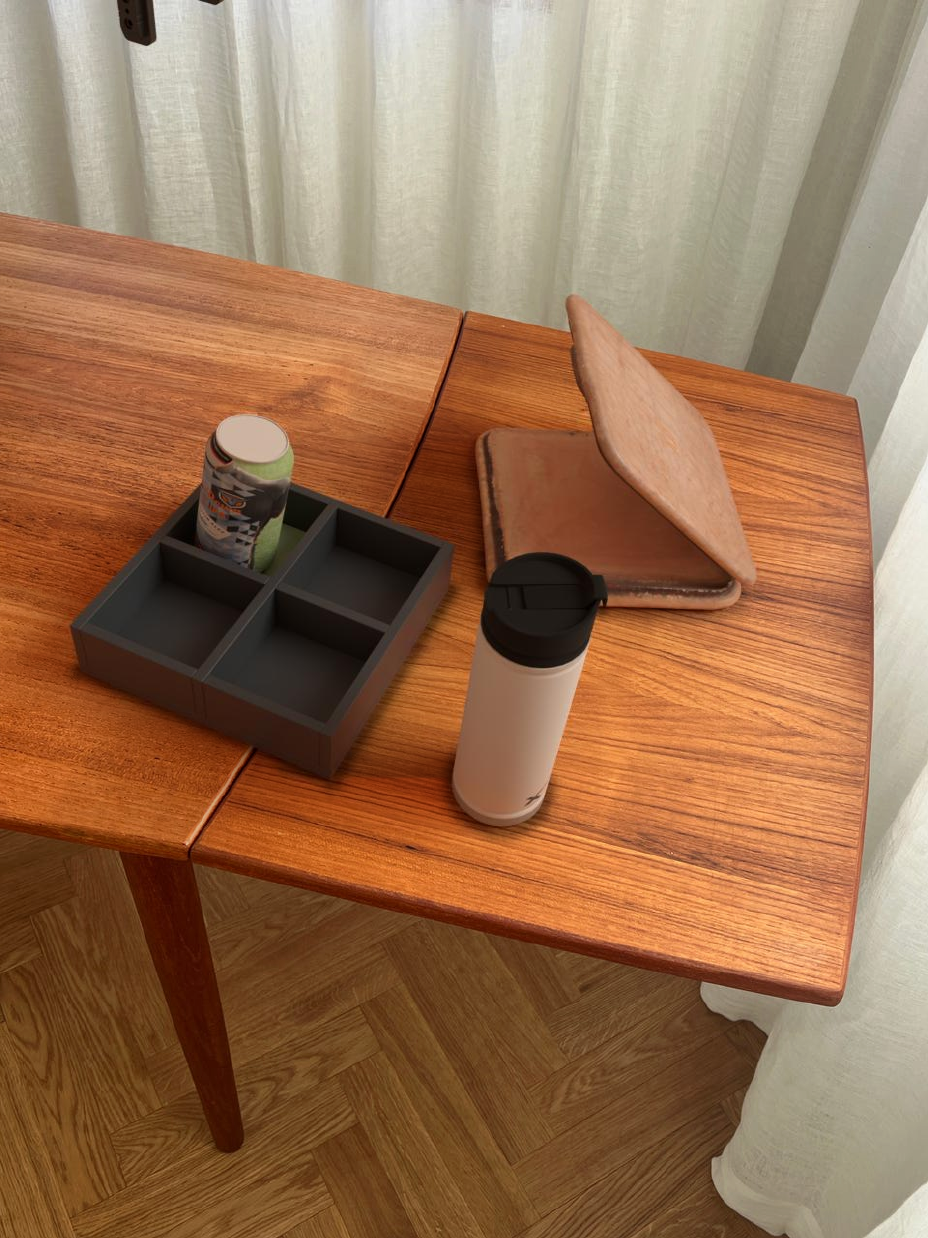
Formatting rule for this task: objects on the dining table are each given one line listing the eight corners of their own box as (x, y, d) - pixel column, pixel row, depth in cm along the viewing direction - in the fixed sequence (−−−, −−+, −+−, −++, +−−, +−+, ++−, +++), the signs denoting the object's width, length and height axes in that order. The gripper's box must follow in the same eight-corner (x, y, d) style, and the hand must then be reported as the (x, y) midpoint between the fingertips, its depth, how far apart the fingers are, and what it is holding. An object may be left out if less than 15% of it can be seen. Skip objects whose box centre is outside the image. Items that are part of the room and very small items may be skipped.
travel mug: (554, 828, 73) (617, 630, 58) (454, 829, 72) (491, 628, 57) (543, 748, 77) (600, 544, 62) (448, 748, 76) (482, 541, 61)
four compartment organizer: (80, 672, 77) (68, 625, 73) (228, 504, 89) (225, 456, 85) (330, 780, 73) (331, 737, 69) (448, 589, 86) (455, 544, 82)
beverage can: (190, 535, 85) (175, 410, 76) (285, 521, 87) (282, 397, 78) (204, 594, 81) (190, 470, 72) (303, 578, 83) (302, 456, 74)
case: (753, 617, 87) (824, 461, 75) (487, 610, 84) (516, 447, 72) (702, 446, 100) (756, 290, 88) (471, 435, 98) (494, 274, 86)
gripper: (163, -303, 70) (185, -24, 82) (16, -267, 61) (66, 41, 73) (268, -279, 69) (275, 2, 81) (133, -238, 60) (164, 71, 72)
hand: (175, 20), depth 77 cm, fingers open, 8 cm apart
